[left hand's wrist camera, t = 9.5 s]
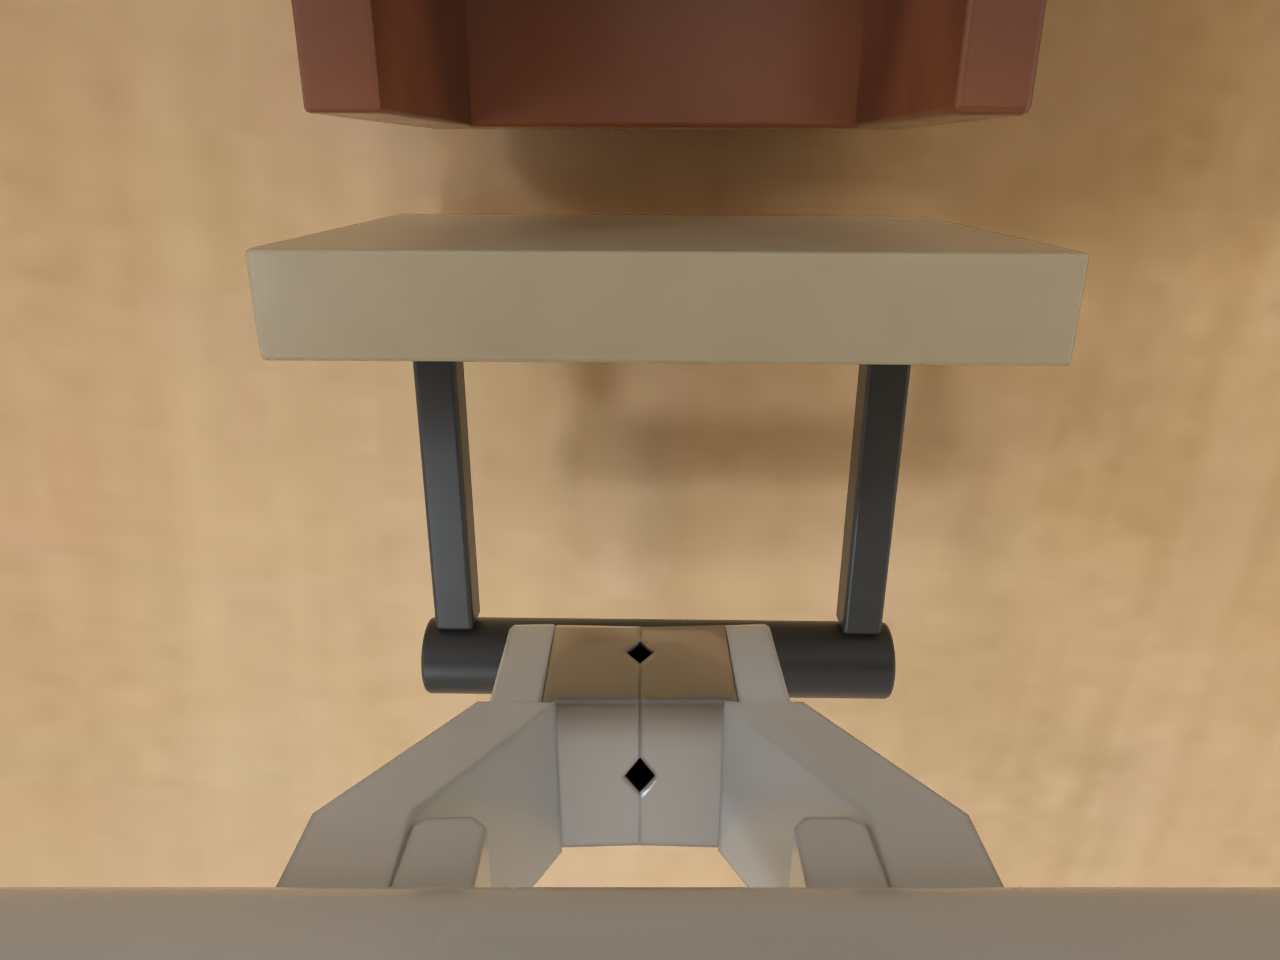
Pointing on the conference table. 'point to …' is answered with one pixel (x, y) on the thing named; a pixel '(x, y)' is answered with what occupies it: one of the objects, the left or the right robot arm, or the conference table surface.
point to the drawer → (668, 249)
